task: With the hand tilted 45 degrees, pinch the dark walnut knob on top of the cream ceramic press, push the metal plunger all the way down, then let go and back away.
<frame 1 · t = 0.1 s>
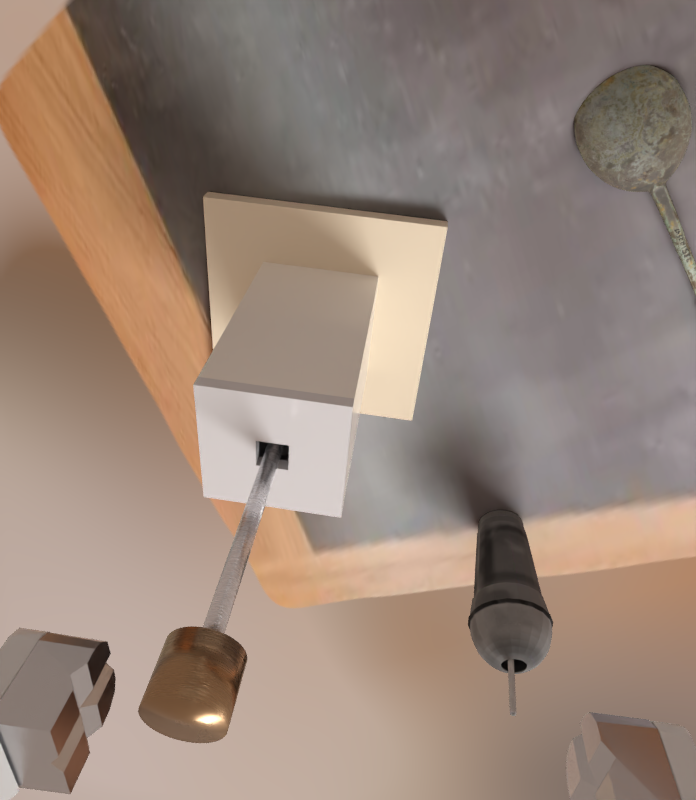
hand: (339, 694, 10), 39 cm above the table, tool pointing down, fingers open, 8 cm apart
soupspoon: (663, 217, 43), on the table
beverage cup: (500, 523, 63), on the table
press: (320, 312, 51), on the table
plunger: (243, 540, 31), point 24 cm above the table, slide at 0.0 cm
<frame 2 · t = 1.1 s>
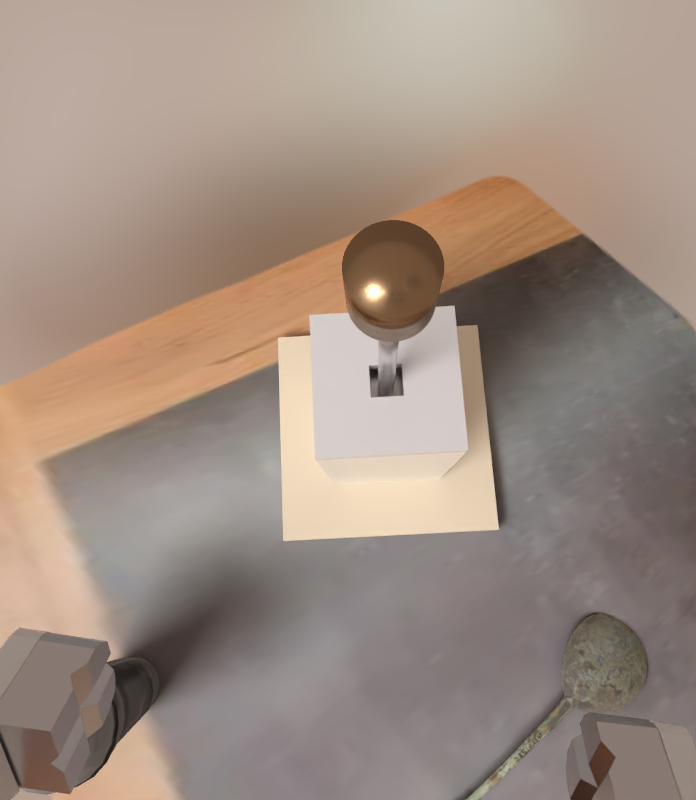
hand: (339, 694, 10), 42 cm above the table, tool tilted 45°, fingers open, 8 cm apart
soupspoon: (534, 721, 49), on the table
beverage cup: (133, 685, 51), on the table
press: (383, 431, 54), on the table
plunger: (388, 346, 30), point 24 cm above the table, slide at 0.0 cm
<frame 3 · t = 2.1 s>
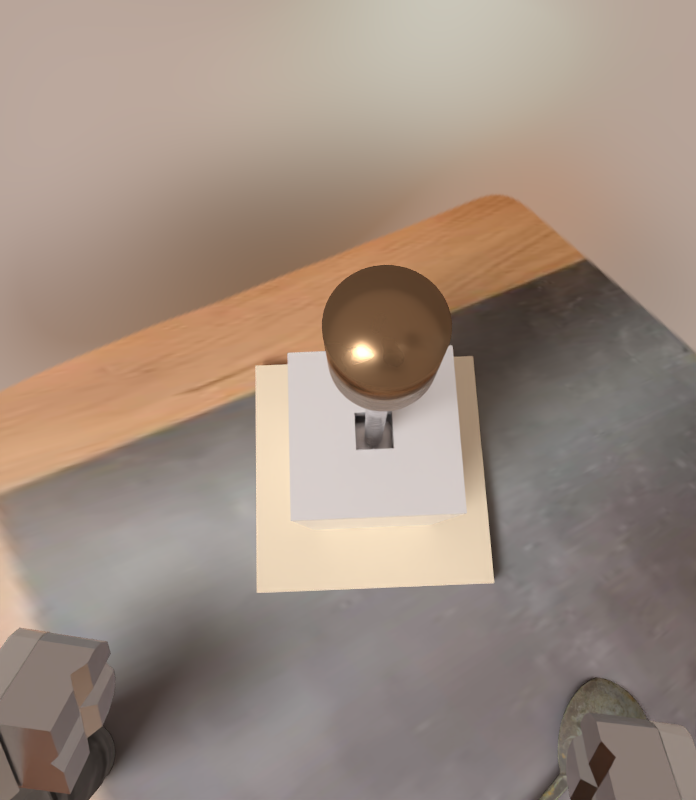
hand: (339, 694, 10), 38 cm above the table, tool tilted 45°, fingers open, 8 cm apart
soupspoon: (526, 799, 44), on the table
beverage cup: (85, 754, 45), on the table
press: (369, 471, 49), on the table
plunger: (377, 401, 26), point 24 cm above the table, slide at 0.0 cm
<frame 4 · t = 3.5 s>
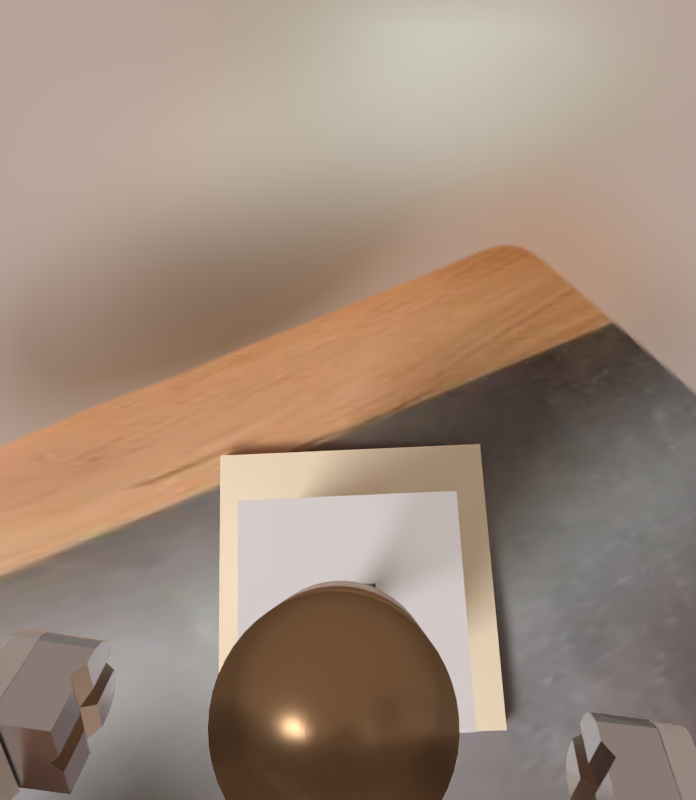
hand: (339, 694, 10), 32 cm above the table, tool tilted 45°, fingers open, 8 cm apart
press: (355, 584, 41), on the table
plunger: (347, 633, 18), point 24 cm above the table, slide at 0.0 cm
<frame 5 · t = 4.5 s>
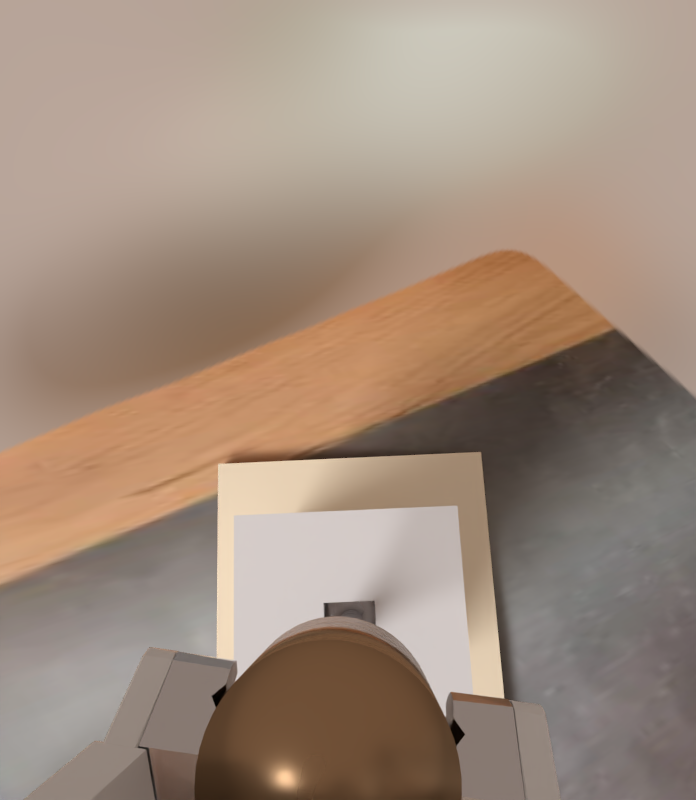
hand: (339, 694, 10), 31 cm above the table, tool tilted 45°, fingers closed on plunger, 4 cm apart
press: (355, 594, 41), on the table
plunger: (345, 659, 17), point 24 cm above the table, slide at 0.0 cm, touching gripper
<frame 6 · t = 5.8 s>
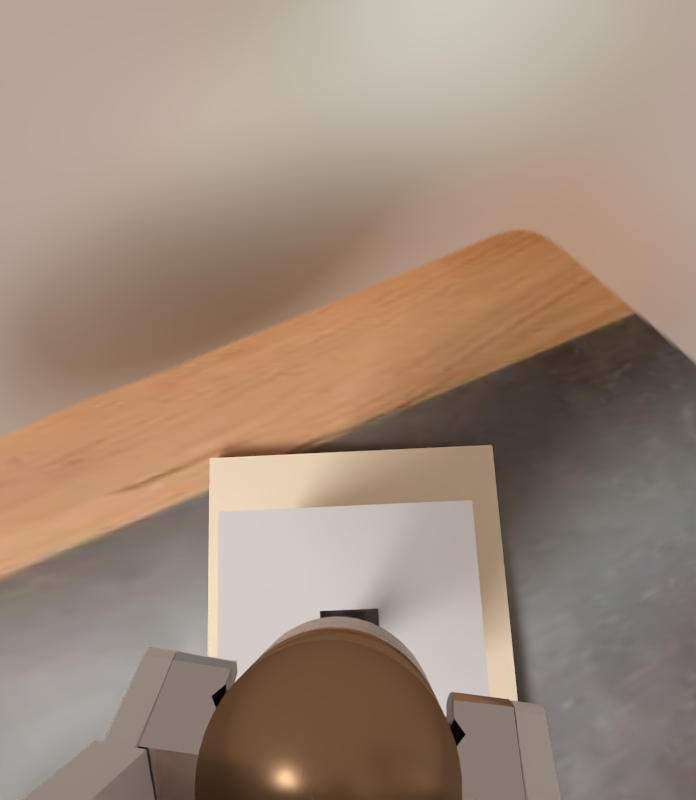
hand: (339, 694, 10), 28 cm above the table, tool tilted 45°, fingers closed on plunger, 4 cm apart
press: (357, 598, 38), on the table
plunger: (347, 659, 17), point 21 cm above the table, slide at 3.0 cm, touching gripper
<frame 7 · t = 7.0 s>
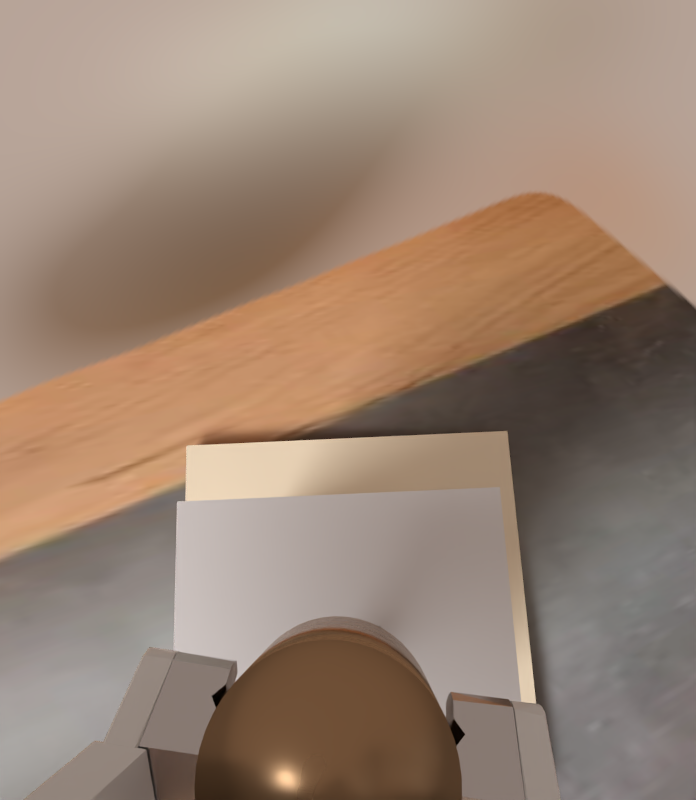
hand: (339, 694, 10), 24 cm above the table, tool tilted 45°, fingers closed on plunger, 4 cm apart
press: (353, 604, 33), on the table
plunger: (345, 659, 17), point 17 cm above the table, slide at 7.8 cm, touching gripper
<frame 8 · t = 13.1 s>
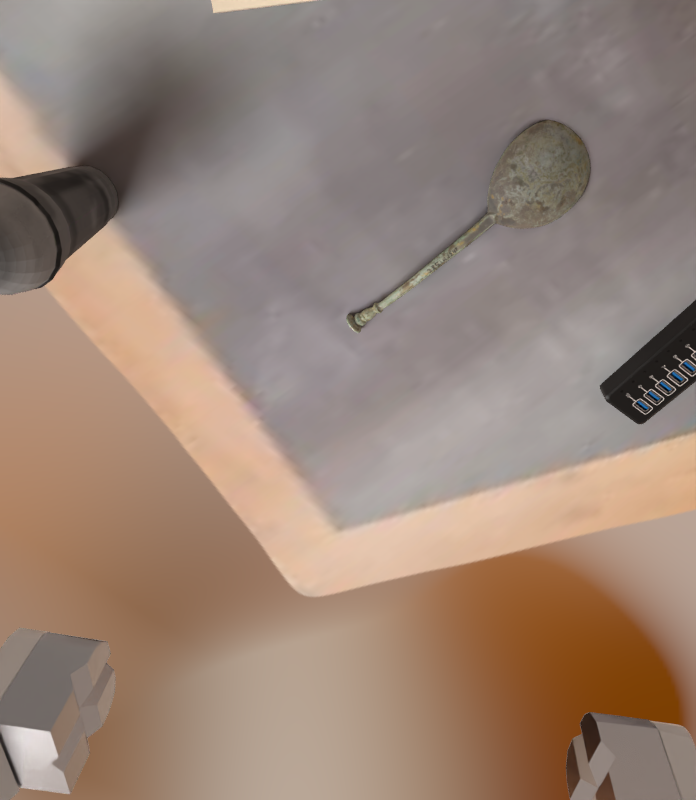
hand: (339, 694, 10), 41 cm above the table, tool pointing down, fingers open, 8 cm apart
soupspoon: (456, 236, 48), on the table
multiport hub: (682, 338, 50), on the table
beverage cup: (91, 194, 49), on the table
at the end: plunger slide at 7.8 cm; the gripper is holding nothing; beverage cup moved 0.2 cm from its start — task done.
